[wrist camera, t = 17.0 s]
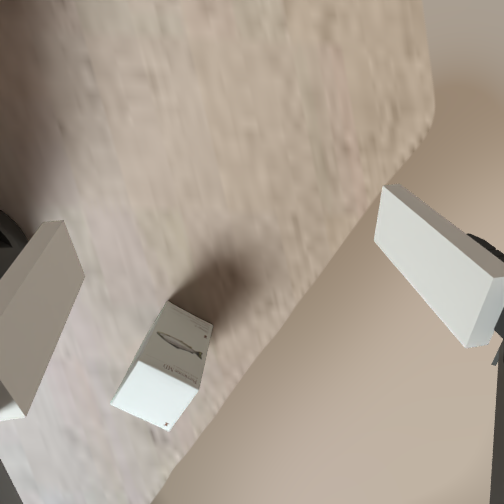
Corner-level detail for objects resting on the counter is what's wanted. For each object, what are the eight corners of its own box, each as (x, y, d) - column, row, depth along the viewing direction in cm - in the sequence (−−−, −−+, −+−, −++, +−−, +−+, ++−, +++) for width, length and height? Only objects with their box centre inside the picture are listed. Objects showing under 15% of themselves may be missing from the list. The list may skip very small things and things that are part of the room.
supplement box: (215, 323, 49) (202, 391, 37) (189, 360, 51) (168, 435, 39) (167, 298, 47) (138, 359, 36) (142, 337, 50) (107, 407, 38)
